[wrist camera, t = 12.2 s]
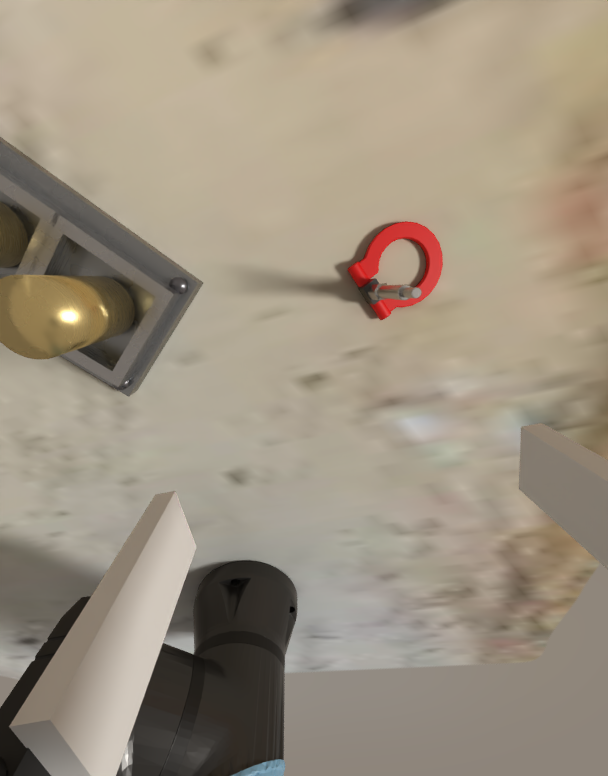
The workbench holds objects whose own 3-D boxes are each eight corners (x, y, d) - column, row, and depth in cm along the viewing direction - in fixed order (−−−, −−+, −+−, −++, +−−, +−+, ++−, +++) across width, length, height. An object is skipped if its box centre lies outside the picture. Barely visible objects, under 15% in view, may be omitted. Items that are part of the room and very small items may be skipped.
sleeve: (118, 347, 34) (54, 374, 24) (63, 314, 32) (-28, 328, 23) (145, 300, 32) (88, 308, 23) (88, 263, 31) (2, 256, 22)
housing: (136, 390, 38) (69, 438, 26) (-82, 259, 32) (-284, 248, 21) (203, 282, 34) (159, 284, 23) (-30, 115, 29) (-239, 8, 17)
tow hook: (412, 205, 33) (340, 263, 34) (494, 156, 21) (375, 248, 22) (451, 274, 35) (381, 326, 36) (544, 267, 23) (435, 345, 24)
